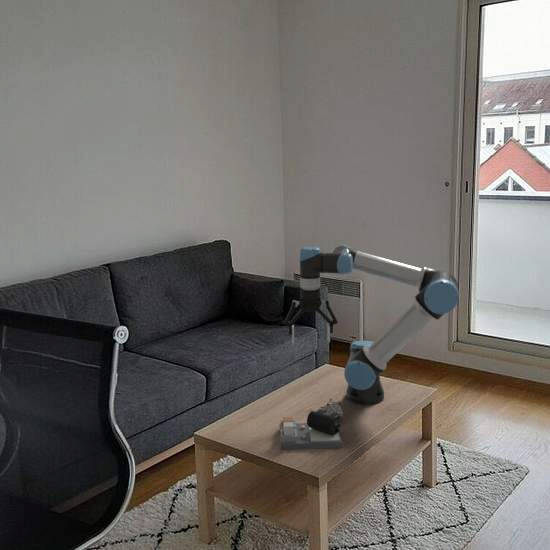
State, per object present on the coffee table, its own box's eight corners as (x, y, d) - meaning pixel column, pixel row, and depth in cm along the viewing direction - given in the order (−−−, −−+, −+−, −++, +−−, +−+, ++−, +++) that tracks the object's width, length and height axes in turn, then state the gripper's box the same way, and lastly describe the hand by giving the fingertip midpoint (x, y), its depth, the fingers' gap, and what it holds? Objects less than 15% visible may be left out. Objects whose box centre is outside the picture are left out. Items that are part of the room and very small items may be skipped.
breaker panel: (337, 427, 242) (337, 417, 241) (341, 447, 227) (341, 436, 226) (279, 429, 242) (279, 418, 241) (280, 449, 227) (280, 438, 226)
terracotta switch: (292, 425, 239) (292, 416, 238) (293, 430, 236) (293, 421, 235) (283, 426, 239) (282, 417, 238) (283, 430, 236) (283, 421, 235)
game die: (338, 429, 248) (354, 411, 245) (323, 428, 243) (339, 410, 239) (326, 411, 254) (342, 393, 250) (312, 410, 248) (327, 392, 245)
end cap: (306, 431, 234) (306, 413, 233) (318, 424, 240) (317, 406, 238) (330, 439, 228) (330, 420, 227) (341, 431, 234) (341, 413, 232)
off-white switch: (293, 431, 232) (293, 421, 231) (293, 435, 228) (293, 426, 228) (283, 431, 232) (283, 422, 231) (283, 436, 228) (283, 426, 228)
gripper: (277, 291, 245) (278, 345, 250) (344, 289, 246) (344, 344, 250) (276, 286, 253) (278, 339, 258) (342, 284, 253) (342, 337, 258)
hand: (311, 341), depth 254 cm, fingers open, 13 cm apart
